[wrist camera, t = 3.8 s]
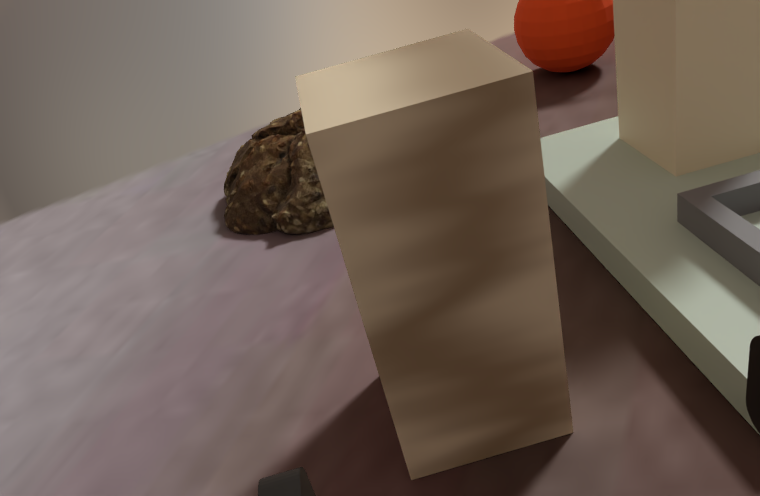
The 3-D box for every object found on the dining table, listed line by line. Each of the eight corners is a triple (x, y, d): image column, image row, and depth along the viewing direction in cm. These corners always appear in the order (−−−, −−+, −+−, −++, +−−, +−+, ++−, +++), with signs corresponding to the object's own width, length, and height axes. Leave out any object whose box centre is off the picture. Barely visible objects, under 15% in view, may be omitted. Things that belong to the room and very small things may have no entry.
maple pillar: (411, 480, 19) (305, 134, 14) (383, 372, 24) (295, 76, 18) (573, 432, 19) (532, 70, 14) (516, 333, 24) (467, 28, 18)
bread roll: (389, 127, 46) (373, 57, 43) (468, 185, 35) (452, 97, 33) (213, 188, 43) (186, 118, 41) (242, 270, 33) (207, 183, 30)
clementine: (652, 52, 46) (650, -57, 42) (610, 89, 42) (604, -28, 38) (548, 53, 51) (539, -44, 47) (502, 86, 47) (487, -17, 43)
